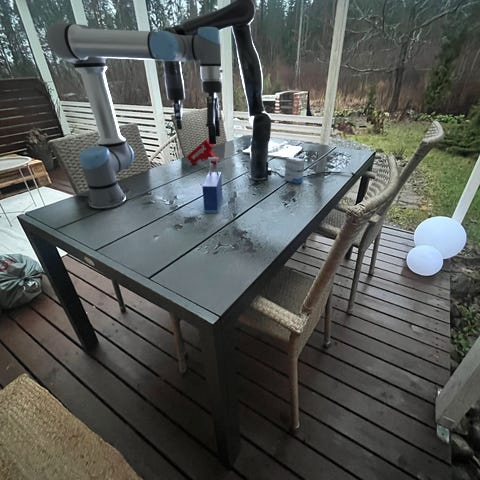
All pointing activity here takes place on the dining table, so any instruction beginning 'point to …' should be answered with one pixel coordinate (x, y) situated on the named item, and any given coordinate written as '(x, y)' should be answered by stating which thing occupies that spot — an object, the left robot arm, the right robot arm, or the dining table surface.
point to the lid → (212, 176)
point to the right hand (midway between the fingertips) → (180, 127)
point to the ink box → (294, 170)
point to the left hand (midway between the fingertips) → (214, 140)
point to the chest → (212, 198)
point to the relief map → (280, 150)
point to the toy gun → (203, 153)
